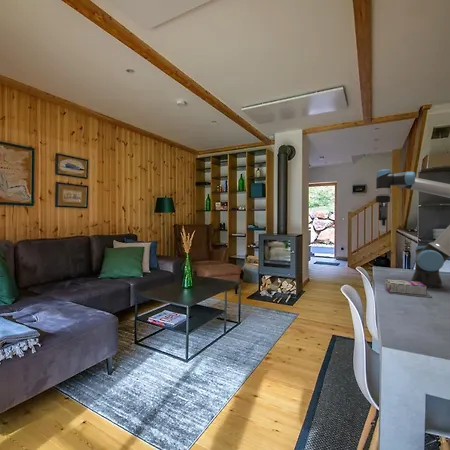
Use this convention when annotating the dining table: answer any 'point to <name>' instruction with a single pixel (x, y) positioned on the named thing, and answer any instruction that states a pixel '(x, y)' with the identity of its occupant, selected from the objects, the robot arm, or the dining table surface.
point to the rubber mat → (411, 294)
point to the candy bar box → (406, 287)
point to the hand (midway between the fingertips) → (382, 231)
